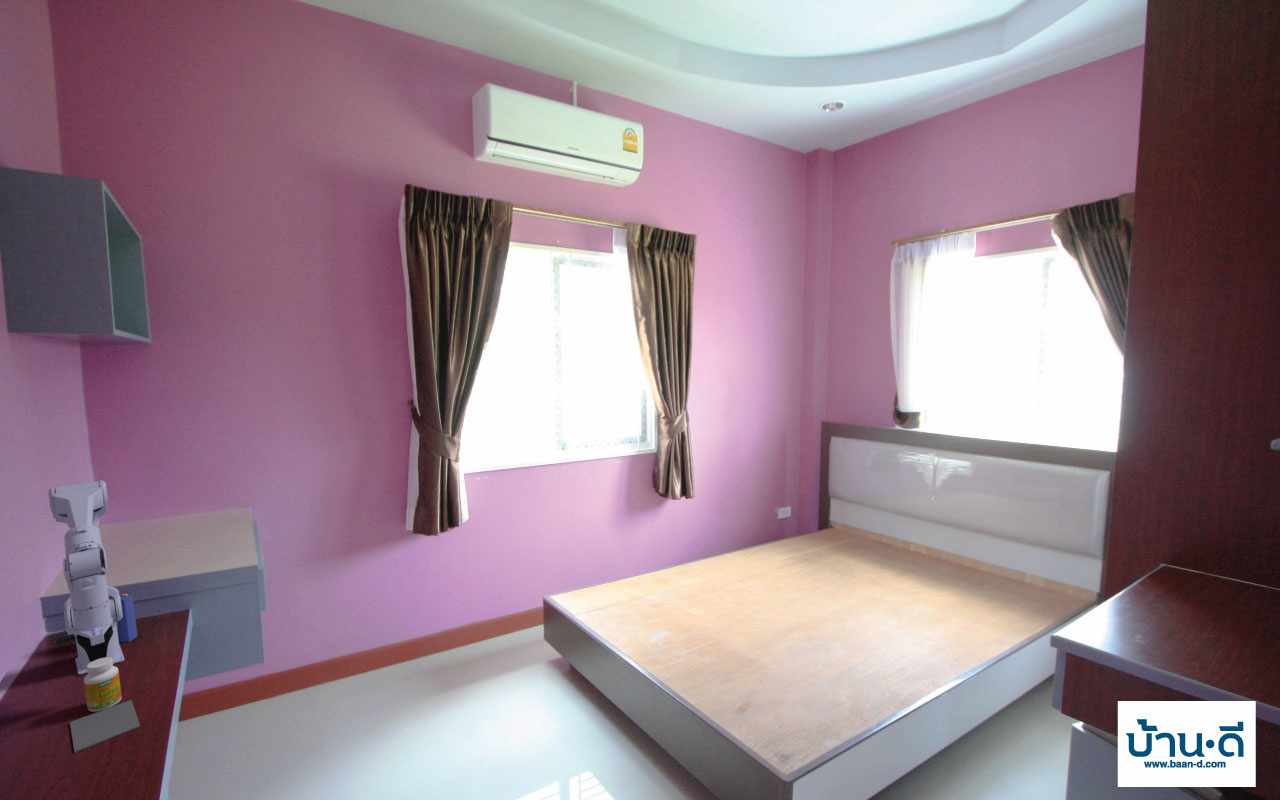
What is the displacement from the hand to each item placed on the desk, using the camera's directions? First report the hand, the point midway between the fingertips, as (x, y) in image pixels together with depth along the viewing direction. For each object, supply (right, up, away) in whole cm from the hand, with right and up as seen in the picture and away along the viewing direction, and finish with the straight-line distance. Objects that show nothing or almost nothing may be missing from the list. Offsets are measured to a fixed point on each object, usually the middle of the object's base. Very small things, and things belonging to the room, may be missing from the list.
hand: (98, 662), depth 123 cm
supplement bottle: (+3, -8, -2) cm, 9 cm away
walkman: (-18, -5, +23) cm, 30 cm away
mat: (+9, -9, -8) cm, 15 cm away
